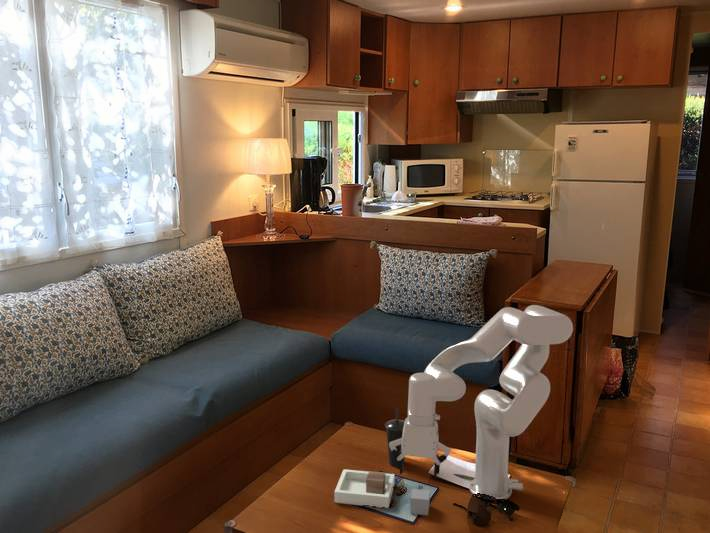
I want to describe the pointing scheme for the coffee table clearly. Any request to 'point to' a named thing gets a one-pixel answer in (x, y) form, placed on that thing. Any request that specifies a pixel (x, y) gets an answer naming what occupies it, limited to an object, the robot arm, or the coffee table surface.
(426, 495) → the grey block
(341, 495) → the white tray
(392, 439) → the drinking cup
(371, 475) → the walnut block
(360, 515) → the coffee table surface
